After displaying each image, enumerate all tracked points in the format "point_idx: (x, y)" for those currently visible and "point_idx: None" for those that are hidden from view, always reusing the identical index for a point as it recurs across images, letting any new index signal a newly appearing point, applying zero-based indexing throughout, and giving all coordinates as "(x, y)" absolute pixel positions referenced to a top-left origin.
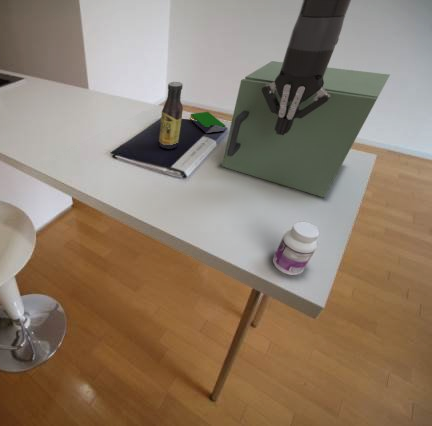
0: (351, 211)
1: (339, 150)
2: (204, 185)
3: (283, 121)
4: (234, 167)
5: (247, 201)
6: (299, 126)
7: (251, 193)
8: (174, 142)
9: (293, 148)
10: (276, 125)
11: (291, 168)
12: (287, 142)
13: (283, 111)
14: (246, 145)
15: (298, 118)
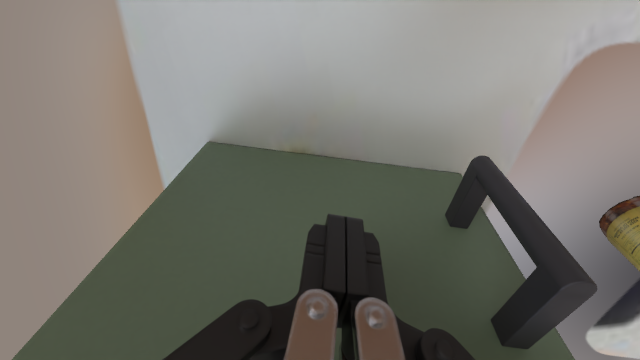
0: (146, 115)
1: (154, 231)
2: (515, 51)
3: (347, 276)
4: (427, 173)
5: (370, 27)
6: (282, 296)
7: (364, 79)
8: (635, 219)
9: (289, 225)
10: (376, 256)
11: (285, 181)
12: None
13: (372, 345)
14: (430, 223)
15: None
